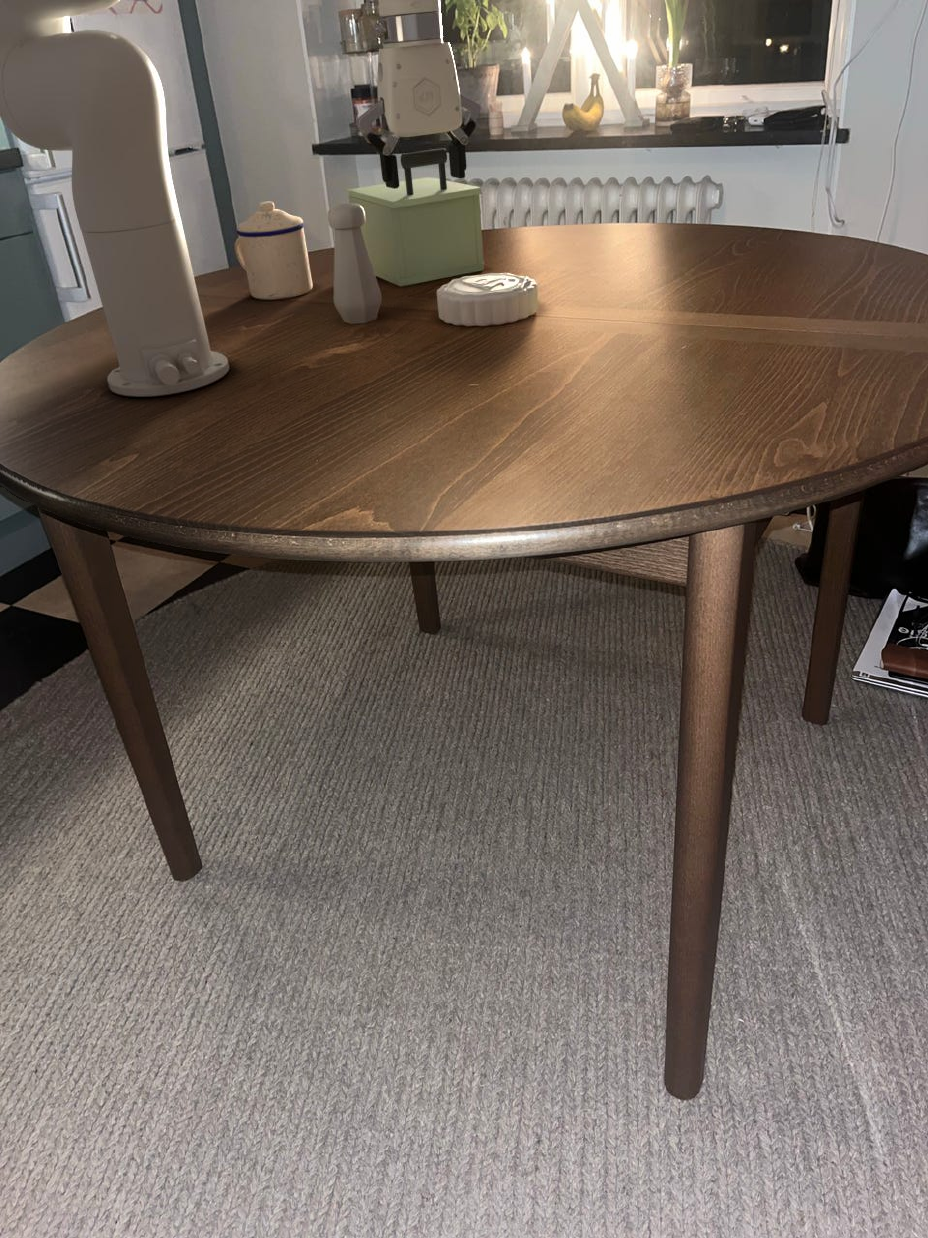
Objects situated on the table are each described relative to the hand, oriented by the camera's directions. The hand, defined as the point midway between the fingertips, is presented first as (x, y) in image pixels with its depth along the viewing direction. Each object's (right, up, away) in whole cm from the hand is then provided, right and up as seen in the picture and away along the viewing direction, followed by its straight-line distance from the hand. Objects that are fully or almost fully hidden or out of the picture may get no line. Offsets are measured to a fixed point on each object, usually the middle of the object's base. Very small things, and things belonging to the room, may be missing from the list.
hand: (425, 182), depth 126 cm
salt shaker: (-8, -22, -11) cm, 25 cm away
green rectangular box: (-1, -8, +11) cm, 13 cm away
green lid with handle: (-2, +1, +5) cm, 5 cm away
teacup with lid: (-21, -13, +6) cm, 26 cm away
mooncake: (+8, -22, -13) cm, 27 cm away
